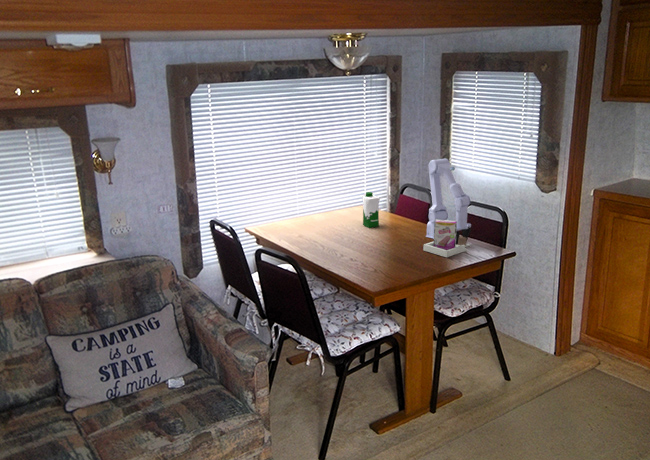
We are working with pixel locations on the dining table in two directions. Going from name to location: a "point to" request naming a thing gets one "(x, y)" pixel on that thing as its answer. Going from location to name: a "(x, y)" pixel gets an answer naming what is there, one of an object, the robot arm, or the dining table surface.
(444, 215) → the robot arm
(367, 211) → the milk carton
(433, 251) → the frame
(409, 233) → the dining table surface
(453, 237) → the candy bar box
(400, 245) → the dining table surface
